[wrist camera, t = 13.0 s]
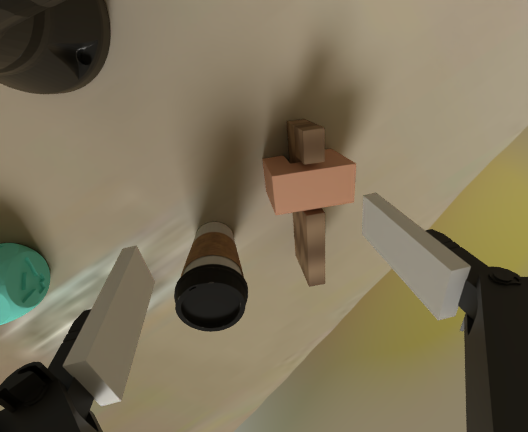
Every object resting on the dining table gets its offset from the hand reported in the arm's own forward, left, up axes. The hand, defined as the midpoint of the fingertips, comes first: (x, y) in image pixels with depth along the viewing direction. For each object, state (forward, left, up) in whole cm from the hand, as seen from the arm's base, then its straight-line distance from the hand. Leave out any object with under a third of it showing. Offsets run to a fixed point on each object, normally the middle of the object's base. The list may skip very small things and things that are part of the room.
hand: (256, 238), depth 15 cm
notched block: (+4, +8, -23) cm, 25 cm away
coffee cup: (+13, -6, -24) cm, 28 cm away
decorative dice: (+12, -35, -24) cm, 44 cm away
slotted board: (+8, +8, -23) cm, 26 cm away
